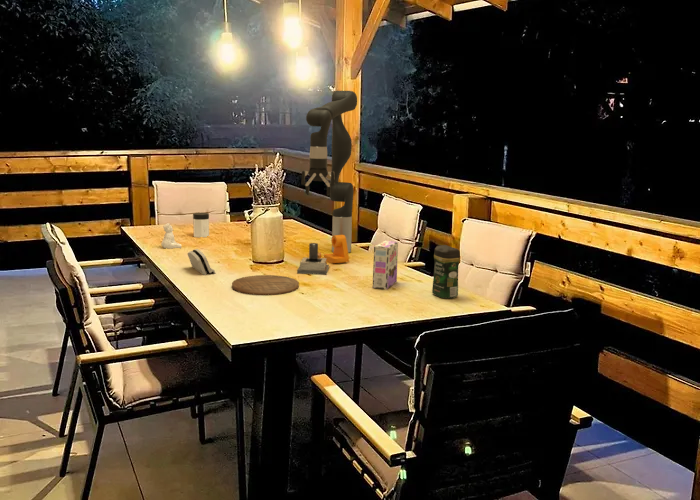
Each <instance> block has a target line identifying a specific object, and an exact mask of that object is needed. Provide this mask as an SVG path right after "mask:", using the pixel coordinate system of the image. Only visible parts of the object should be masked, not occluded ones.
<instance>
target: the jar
mask: <svg viewBox="0 0 700 500" xmlns="http://www.w3.org/2000/svg"><path fill="white" fill-rule="evenodd" d="M209 214H210V213H209V212H194V213H192V219H193V223H192V224H193V226H192V227H193V228H192V229H193V237H194V238H200V237H203V238H208V237H207V236H209V237H210V215H209Z"/></svg>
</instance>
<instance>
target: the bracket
mask: <svg viewBox="0 0 700 500" xmlns="http://www.w3.org/2000/svg"><path fill="white" fill-rule="evenodd" d="M332 246H333V247H334V252H333V253H332V252H331V253H324V254H323V256H324V257H323V258H327V263H329V264H340V263H347V262H348V263H349V262H350V256H349V254H350V253H348V248H347V242H346V237H345V235H333V236H331V247H332Z"/></svg>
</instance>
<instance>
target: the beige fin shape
mask: <svg viewBox="0 0 700 500" xmlns="http://www.w3.org/2000/svg"><path fill="white" fill-rule="evenodd" d="M187 257H188V258H189V262H190V265H191V267H192V268H193V269H194V268H195V269H194V270H196V271H197V272H198V273H200V274H201V273H202V274H201V275H203V276H206V275H207V274H211V273H212V272H213V273H212V274H214V275H217V273H216V271H215V269H213V268H212V267H211V266H210V263H209V261H208V259H207V256H206V255H205V253H203V252H202V251H201V250H200V249H198V248H196V249H192V250H190V251H189V252H187Z"/></svg>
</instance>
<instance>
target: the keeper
mask: <svg viewBox="0 0 700 500" xmlns="http://www.w3.org/2000/svg"><path fill="white" fill-rule="evenodd" d="M308 247H309V248H308V251H309V253H308V258H309V262H318V252H319V244H318V243H317V242H316V243H315V242H310V243H309V244H308ZM329 269H330V266H329V264H327V265H326V268H325V270H300V265H299V266H298V268H297V270H296V274H298V275H299V274H300V275H327V273H328V272H329Z"/></svg>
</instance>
